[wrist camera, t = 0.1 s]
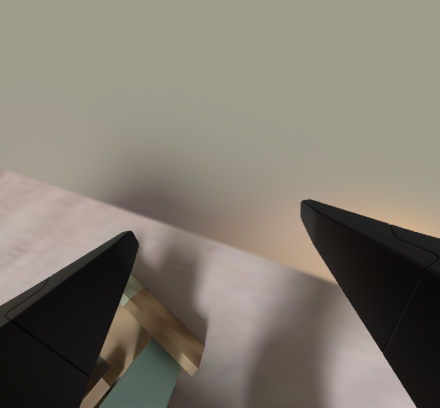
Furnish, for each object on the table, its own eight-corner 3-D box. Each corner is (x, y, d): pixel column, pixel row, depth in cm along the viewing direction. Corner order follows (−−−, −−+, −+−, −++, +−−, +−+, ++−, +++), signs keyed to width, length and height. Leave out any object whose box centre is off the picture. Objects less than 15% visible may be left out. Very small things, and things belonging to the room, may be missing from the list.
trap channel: (204, 345, 23) (194, 381, 18) (132, 431, 24) (103, 489, 19) (131, 273, 25) (104, 288, 20) (65, 354, 25) (22, 388, 20)
